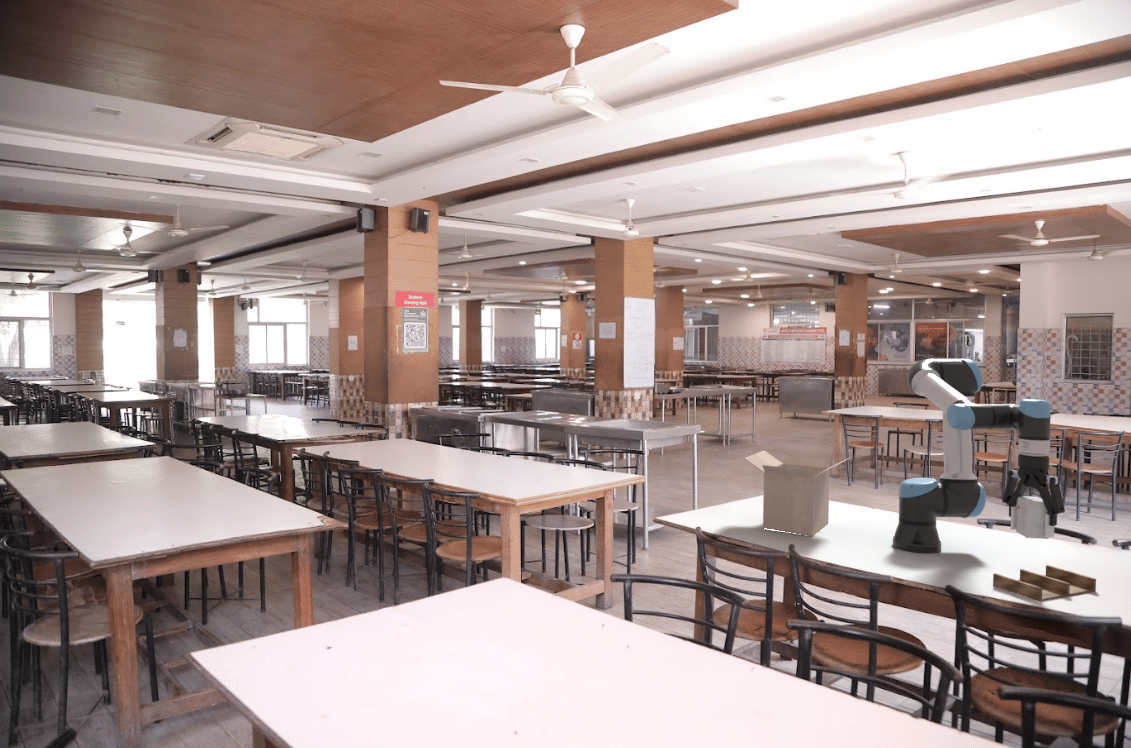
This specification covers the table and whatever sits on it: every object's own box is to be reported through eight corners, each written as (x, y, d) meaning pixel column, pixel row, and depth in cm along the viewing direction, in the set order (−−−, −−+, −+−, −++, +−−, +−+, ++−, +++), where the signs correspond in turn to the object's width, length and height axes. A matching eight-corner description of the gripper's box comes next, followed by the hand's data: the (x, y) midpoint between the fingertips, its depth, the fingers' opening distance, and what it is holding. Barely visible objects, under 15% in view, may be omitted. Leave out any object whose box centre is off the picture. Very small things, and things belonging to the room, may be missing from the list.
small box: (1048, 539, 210) (1050, 502, 209) (1026, 538, 211) (1027, 501, 210) (1036, 532, 218) (1037, 496, 217) (1015, 531, 219) (1016, 495, 218)
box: (850, 524, 290) (852, 456, 289) (831, 542, 265) (833, 467, 263) (765, 513, 308) (766, 449, 307) (740, 529, 282) (741, 458, 281)
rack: (992, 585, 218) (993, 573, 218) (1047, 576, 226) (1048, 565, 226) (1039, 601, 205) (1039, 588, 205) (1095, 591, 213) (1096, 578, 213)
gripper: (988, 450, 222) (987, 525, 223) (1063, 460, 202) (1061, 543, 202) (1006, 448, 225) (1005, 523, 226) (1082, 458, 205) (1080, 540, 205)
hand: (1031, 532), depth 214 cm, fingers closed on small box, 9 cm apart
